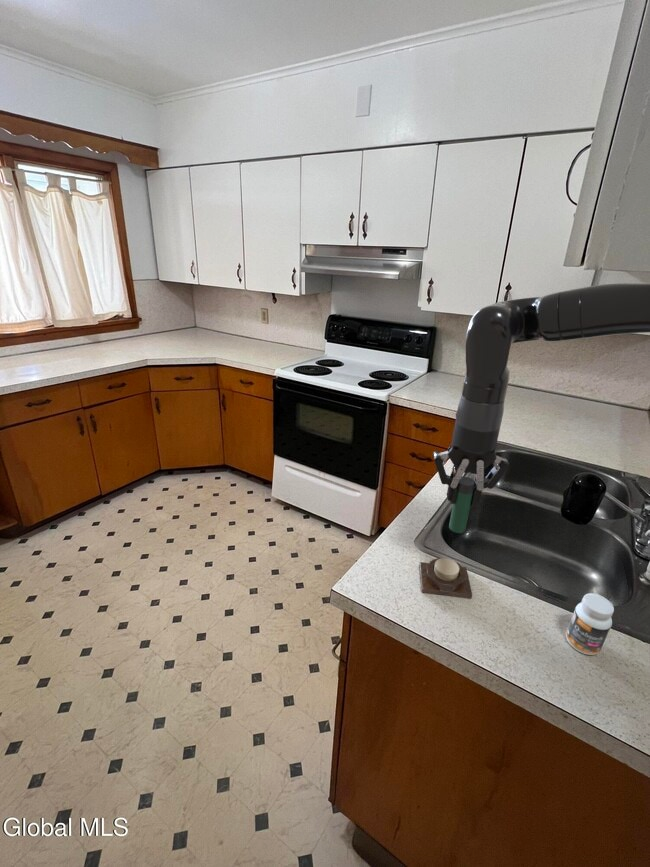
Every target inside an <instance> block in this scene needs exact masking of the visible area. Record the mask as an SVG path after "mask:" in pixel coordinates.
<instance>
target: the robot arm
mask: <svg viewBox="0 0 650 867" xmlns="http://www.w3.org/2000/svg"><path fill="white" fill-rule="evenodd" d="M642 333H643V334H644V333H645V334H647V333H650V283H607V284H605V283H604V284H597V285H590V286H584V287H579V288H578V287H577V288H574V289H568V290H563V291H558V292H553V293H550V294H549V293H548V294H545V295H542V296H533V297H525V298H523V297H522V298H515V299H509V300H508V299H507V300H502V301H497V302H494V303H492V304H489V305H486V306H484V307H482V308H480V309H478V310H477V311H476V312H475V313H474V314H473V316H472V317H471V318H470V321H469V323H468V326H467V330H466V336H465V366H466V367H465V373H464V379H463V383H462V390H461V396H460V399H459V401H458V406H457V409H456V413H455V420H454V421H455V422H454V428H453V434H452V438H451V444H450V446H449V447H448V448H447V450H446V451H442V452H440V451H438V450H436V451H433V453H432V455H433V456H432V457H433V460H434V461H433V462H434V463H435V464H434V465H435V467H436V470H437V472H438V473H437V474H438V477H439V480H440V482H441V484H442V485H447V491H446V497H447V501H448V502H449V503H450V505H453V504H455V499H456V494H457V485H458V483H459V481H460V479H461V478H462V477H464V474H469V473H470V474H473V478H474V479H473V480H474V481H475V486H474V491H473V496H472V501H471V506H470V507H476V505H477V504H479V503H480V501H481V496H482V492H483V490H484V489H490V490H492V489H494V488H495V486H496V485H497V484H498V482H499V481H500V480H501V479H502V477H503V476H504V475H505V474H506V472H507V471H508V470H509V468H510V464H509V461H508V460H507V458H506V457H505V456H499V455H497V453H496V448H497V444H498V439H499V435H500V431H501V426H502V422H503V416H504V411H505V400H506V396H507V392H508V386H509V381H510V370H509V368H508V362H509V356H510V352H511V347H512V344H517V343H523V342H532V341H539V340H541V341H543V342H547V343H548V342H551V343H552V342H554V343H556V342H563V341H565V342H566V341H572V340H581V339H591V338H599V337H607V336H608V337H609V336H619V335H628V334H642ZM448 459H449V460H450V461H451V463H452V464H453V465H452V468H451V472H450V474H447V472H446V469H445V465H446V464H447V461H448ZM492 464H493V467H492V468H491V469H490V471H489V472H488V474H487V475H486V476H484V475H485V470H486V469H487V468H488V467H489V466H491V465H492Z"/></svg>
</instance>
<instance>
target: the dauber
mask: <svg viewBox="0 0 650 867" xmlns="http://www.w3.org/2000/svg"><path fill="white" fill-rule="evenodd" d="M474 486H475V481H474V479H473V478H471V477H468V476H462V478H461V479H460V481H459V483H458V485H457V494H456V499H455V504H452V507H451V513H450V519H449V523H448V528H449V530H450V531H452V532H453V533H456V534H464V533H465V532H466V529H467V526H468V519H469V515H470V510H471V507H472V506H471V501H472V496H473V491H474Z"/></svg>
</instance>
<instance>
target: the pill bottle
mask: <svg viewBox="0 0 650 867" xmlns="http://www.w3.org/2000/svg"><path fill="white" fill-rule="evenodd" d="M614 612H615V607H614V604H612V602H611V601H610V600H608V599H607V598H606V597H604V596H602V595H600V594H598V593H593V592H590V593H586V594H584V595H583V597H582V599H581V601H580V602H579V603H577V605H576V606H575V608H574V611H573V614H572V616H571V618H570V621H569V623H568V626H567V629H566V632H565V638H566V641H567V643H568V644H569V645H570V646H571V647H572V648H573V649H575V651H577V652H579V653H581V654H584V655H586V656H587V655H588V656H596V655H598V654H599V653H601V650H602V649H603V647H604V643H605V641H606V639H607V637H608V635H609V633H610V630H611V628H612V626H613V620H612V619H613V618H612V617H613V614H614Z"/></svg>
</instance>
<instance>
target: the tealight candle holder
mask: <svg viewBox="0 0 650 867" xmlns="http://www.w3.org/2000/svg"><path fill="white" fill-rule="evenodd" d="M441 558H442V557H437V558H434V559H431V560H430V561H429V562H426V561H425V562H424V561H420V562H419V576H420V589H421V594H425V595H426V594H427V595H436V596H442V597H452V598H453V597H454V598H461V599H469V600H471V599H472V598H473V592H472V591H473V590H472V588H471V583H470V578H469V574H468V569H467V566H462V565H461V564H460V563H459V562H456V561H455V562H456V563H457V564H458V566H459V574H458V578H457V579H456V580H454V581H445V580H442V579H440V578H438V577H437V576H436V575H435V573H434V566H435V562H436V561H437V560H438V559H441Z"/></svg>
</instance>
